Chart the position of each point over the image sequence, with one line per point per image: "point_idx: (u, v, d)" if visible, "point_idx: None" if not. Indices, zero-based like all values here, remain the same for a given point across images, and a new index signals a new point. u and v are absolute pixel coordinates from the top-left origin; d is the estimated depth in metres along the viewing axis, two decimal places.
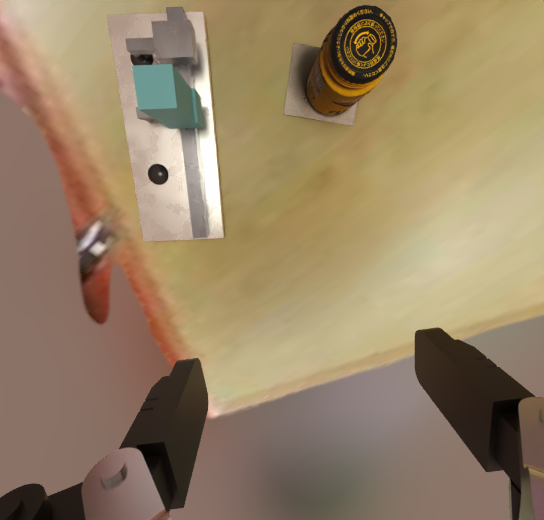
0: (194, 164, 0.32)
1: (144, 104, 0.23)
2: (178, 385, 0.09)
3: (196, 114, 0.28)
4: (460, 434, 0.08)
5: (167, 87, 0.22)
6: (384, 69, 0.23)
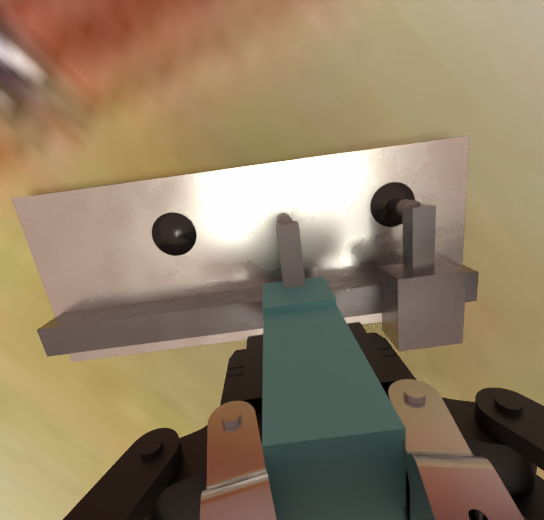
0: (198, 328, 0.15)
1: (281, 463, 0.06)
2: (258, 355, 0.10)
3: None
4: None
5: None
6: None
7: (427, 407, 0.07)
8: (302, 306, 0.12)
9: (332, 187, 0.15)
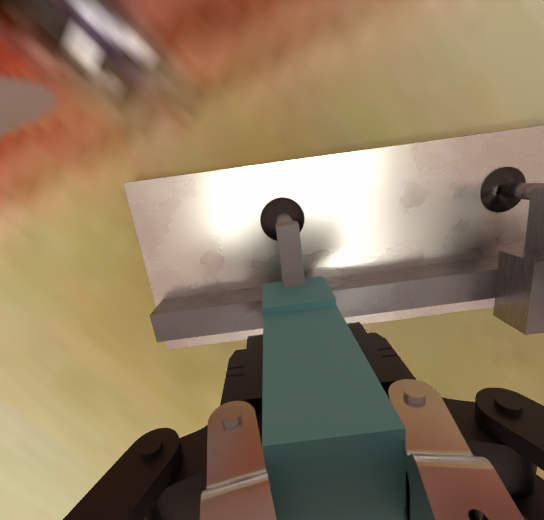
0: None
1: (281, 463, 0.06)
2: (258, 355, 0.10)
3: None
4: None
5: None
6: None
7: (427, 407, 0.07)
8: (302, 306, 0.12)
9: (444, 172, 0.15)
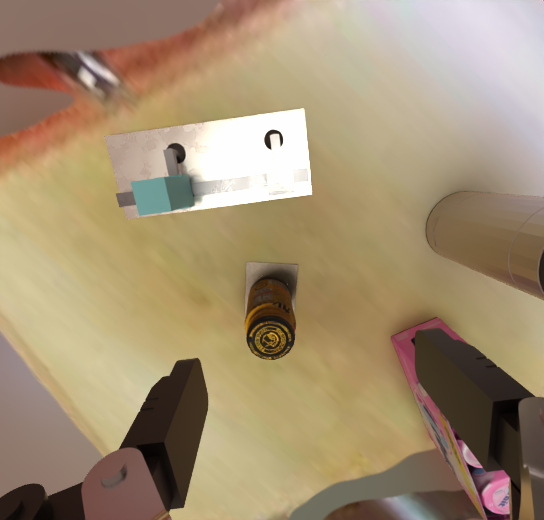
0: None
1: (135, 187, 0.26)
2: (178, 385, 0.09)
3: None
4: (460, 434, 0.08)
5: (153, 207, 0.26)
6: (256, 355, 0.32)
7: None
8: None
9: (246, 131, 0.35)
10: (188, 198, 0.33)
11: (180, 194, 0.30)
